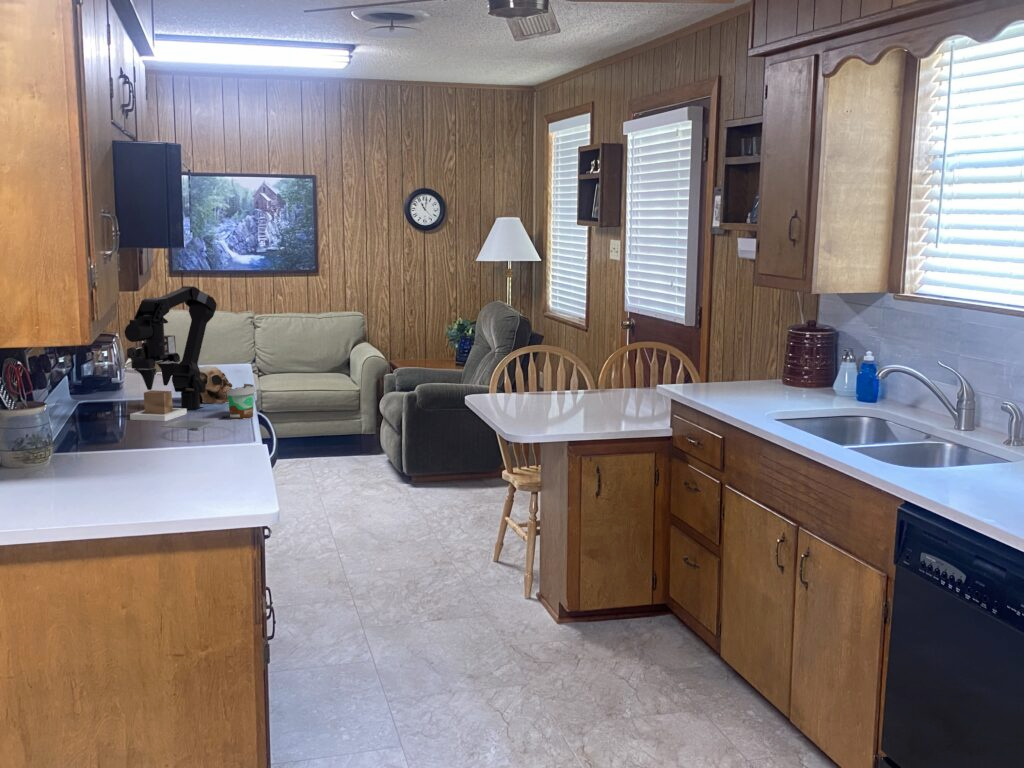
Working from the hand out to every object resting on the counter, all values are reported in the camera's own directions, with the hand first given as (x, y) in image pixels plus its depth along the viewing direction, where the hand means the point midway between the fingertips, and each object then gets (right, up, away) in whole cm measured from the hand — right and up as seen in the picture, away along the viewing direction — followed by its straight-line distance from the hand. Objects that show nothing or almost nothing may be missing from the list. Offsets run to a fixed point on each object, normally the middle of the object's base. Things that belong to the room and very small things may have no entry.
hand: (157, 387), depth 313 cm
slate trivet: (+13, -12, -12) cm, 21 cm away
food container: (+27, -10, +4) cm, 29 cm away
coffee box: (-34, +5, +101) cm, 107 cm away
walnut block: (0, -9, +1) cm, 9 cm away
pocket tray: (0, -10, +1) cm, 10 cm away
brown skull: (+7, -5, +34) cm, 35 cm away
